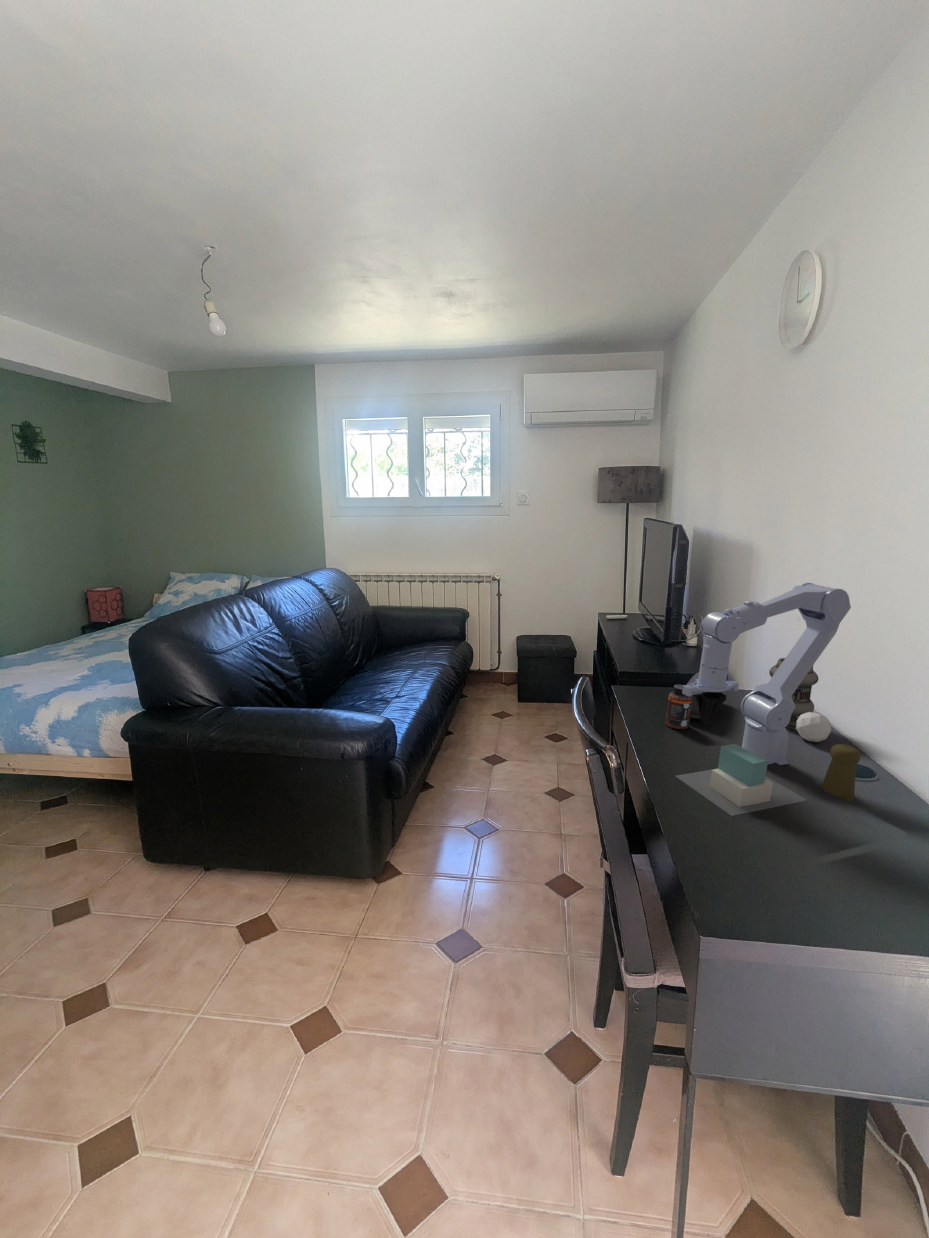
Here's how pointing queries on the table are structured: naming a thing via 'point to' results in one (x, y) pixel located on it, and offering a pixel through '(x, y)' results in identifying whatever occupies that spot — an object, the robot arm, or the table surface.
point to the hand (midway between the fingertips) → (705, 721)
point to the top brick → (742, 764)
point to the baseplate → (702, 786)
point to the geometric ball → (813, 726)
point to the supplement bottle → (678, 709)
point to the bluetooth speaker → (694, 700)
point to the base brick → (739, 789)
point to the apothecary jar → (799, 694)
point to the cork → (842, 772)
